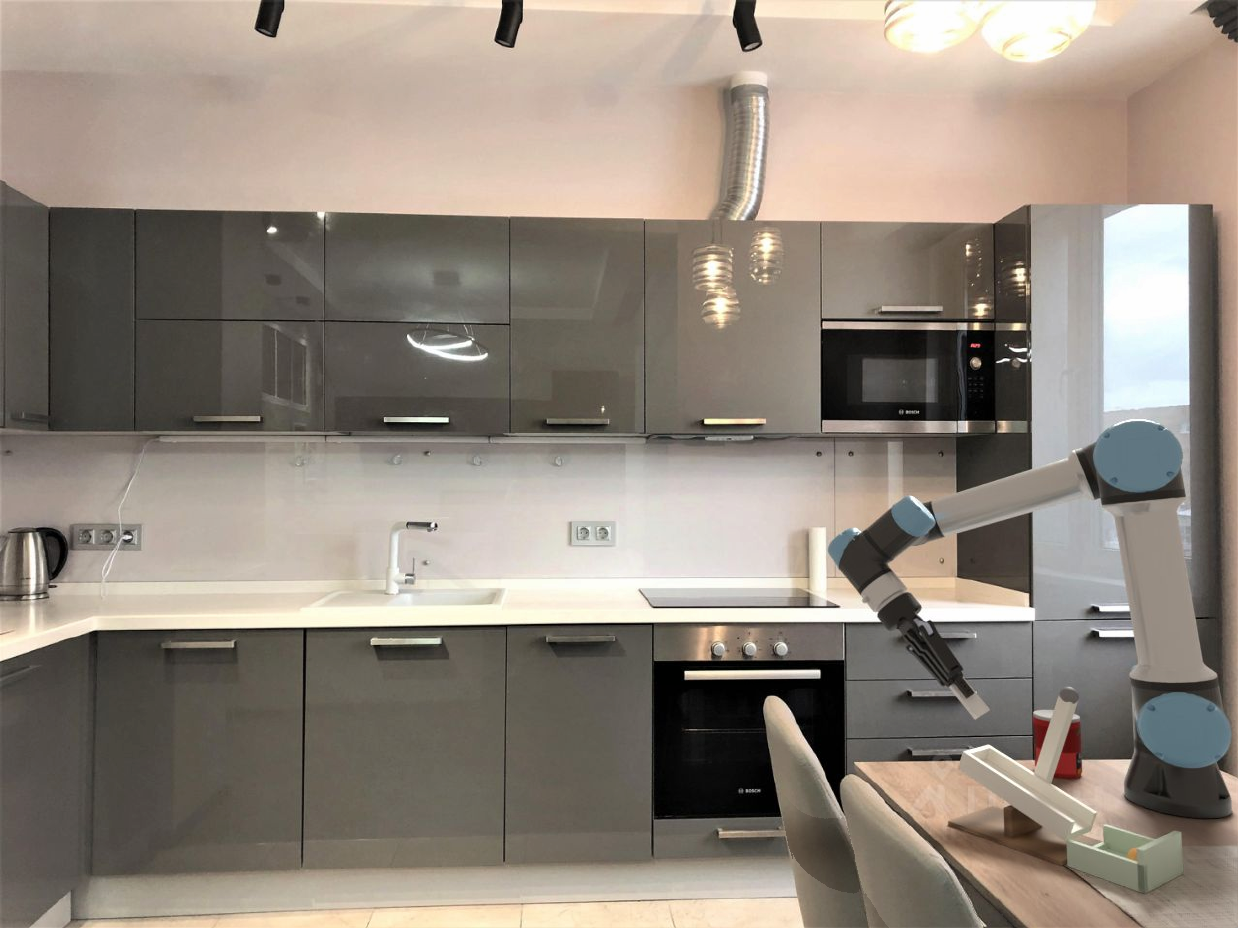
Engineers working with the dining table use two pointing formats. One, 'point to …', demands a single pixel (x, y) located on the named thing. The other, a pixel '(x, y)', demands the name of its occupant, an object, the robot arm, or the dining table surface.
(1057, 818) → the seesaw
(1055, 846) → the stand
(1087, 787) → the dining table surface
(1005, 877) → the dining table surface
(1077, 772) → the canned food
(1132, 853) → the ball
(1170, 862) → the tray
